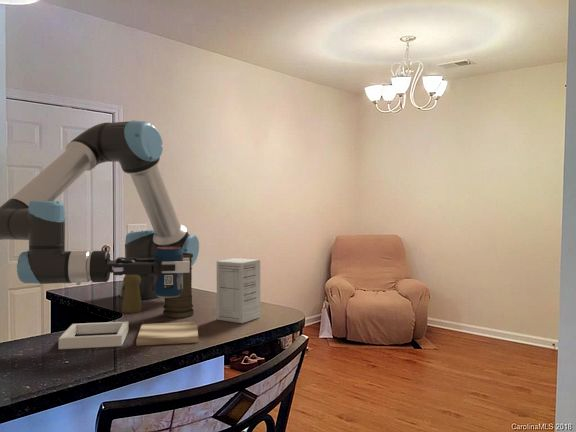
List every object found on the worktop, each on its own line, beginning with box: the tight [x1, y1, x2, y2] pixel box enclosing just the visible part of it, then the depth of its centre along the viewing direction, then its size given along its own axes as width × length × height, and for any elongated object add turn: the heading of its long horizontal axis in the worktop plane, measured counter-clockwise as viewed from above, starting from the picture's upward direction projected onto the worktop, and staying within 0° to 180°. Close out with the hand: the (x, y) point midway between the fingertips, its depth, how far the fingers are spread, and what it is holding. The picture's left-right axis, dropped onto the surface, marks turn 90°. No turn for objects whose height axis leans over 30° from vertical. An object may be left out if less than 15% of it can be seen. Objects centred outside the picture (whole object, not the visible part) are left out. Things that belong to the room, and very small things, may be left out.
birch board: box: [136, 321, 199, 346], centre depth 118 cm, size 14×14×2 cm
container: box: [162, 253, 195, 319], centre depth 140 cm, size 9×9×18 cm
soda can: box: [154, 246, 183, 299], centre depth 117 cm, size 7×7×12 cm
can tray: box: [58, 320, 130, 350], centre depth 114 cm, size 13×13×2 cm
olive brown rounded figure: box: [121, 275, 143, 314], centre depth 145 cm, size 6×6×11 cm
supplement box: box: [216, 257, 262, 324], centre depth 136 cm, size 10×9×17 cm
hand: (189, 265), depth 118 cm, fingers closed on soda can, 7 cm apart
